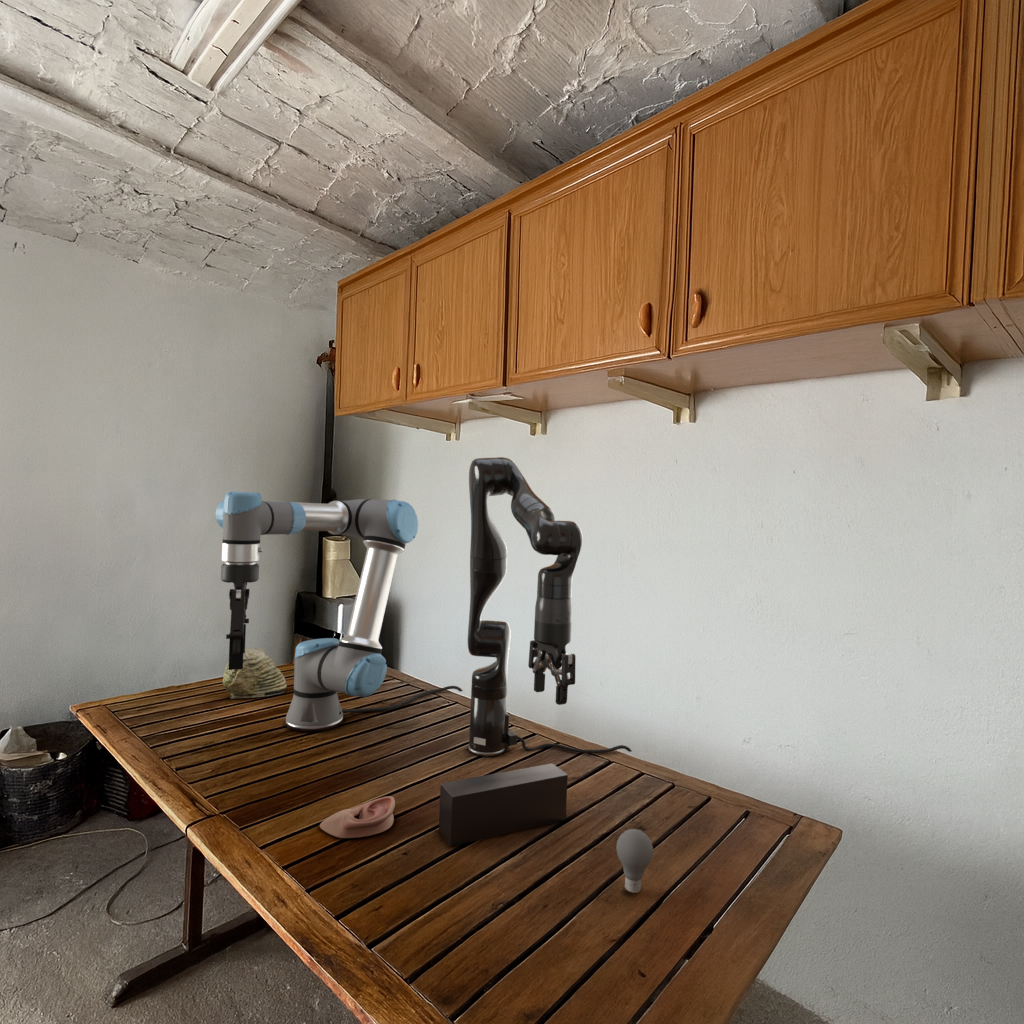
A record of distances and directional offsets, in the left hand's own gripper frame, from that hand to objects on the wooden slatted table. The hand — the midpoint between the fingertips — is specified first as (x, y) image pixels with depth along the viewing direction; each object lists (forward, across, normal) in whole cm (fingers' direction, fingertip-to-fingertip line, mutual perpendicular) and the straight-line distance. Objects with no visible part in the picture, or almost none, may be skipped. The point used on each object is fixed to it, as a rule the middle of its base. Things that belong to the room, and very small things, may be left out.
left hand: (237, 661), depth 137 cm
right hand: (+2, -32, -60) cm, 68 cm away
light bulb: (+27, -59, -64) cm, 91 cm away
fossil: (+27, +64, -4) cm, 69 cm away
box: (+27, -33, -51) cm, 66 cm away
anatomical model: (+27, -25, -23) cm, 43 cm away
